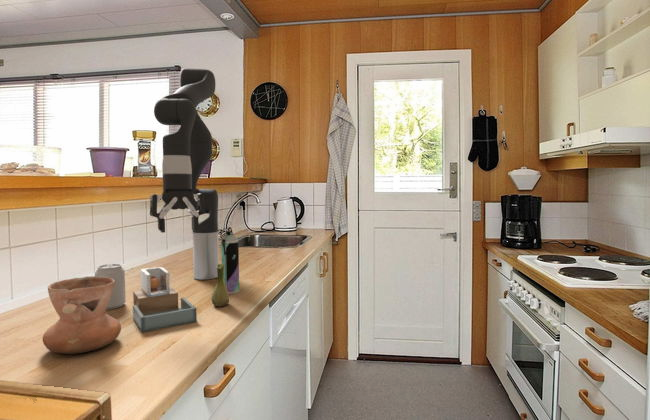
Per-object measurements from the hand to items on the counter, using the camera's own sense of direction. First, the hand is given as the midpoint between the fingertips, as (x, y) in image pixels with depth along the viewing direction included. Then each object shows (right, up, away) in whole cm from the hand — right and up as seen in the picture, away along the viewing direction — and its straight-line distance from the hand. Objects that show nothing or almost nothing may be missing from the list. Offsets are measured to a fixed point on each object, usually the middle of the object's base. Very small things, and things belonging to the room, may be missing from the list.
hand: (178, 231), depth 110 cm
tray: (-1, -23, -8) cm, 24 cm away
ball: (-8, -16, +2) cm, 18 cm away
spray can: (+10, -21, +19) cm, 30 cm away
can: (-21, -22, +4) cm, 31 cm away
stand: (-7, -22, +1) cm, 23 cm away
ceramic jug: (-12, -24, -24) cm, 36 cm away
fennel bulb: (+10, -22, +5) cm, 25 cm away
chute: (-7, -17, +1) cm, 18 cm away
